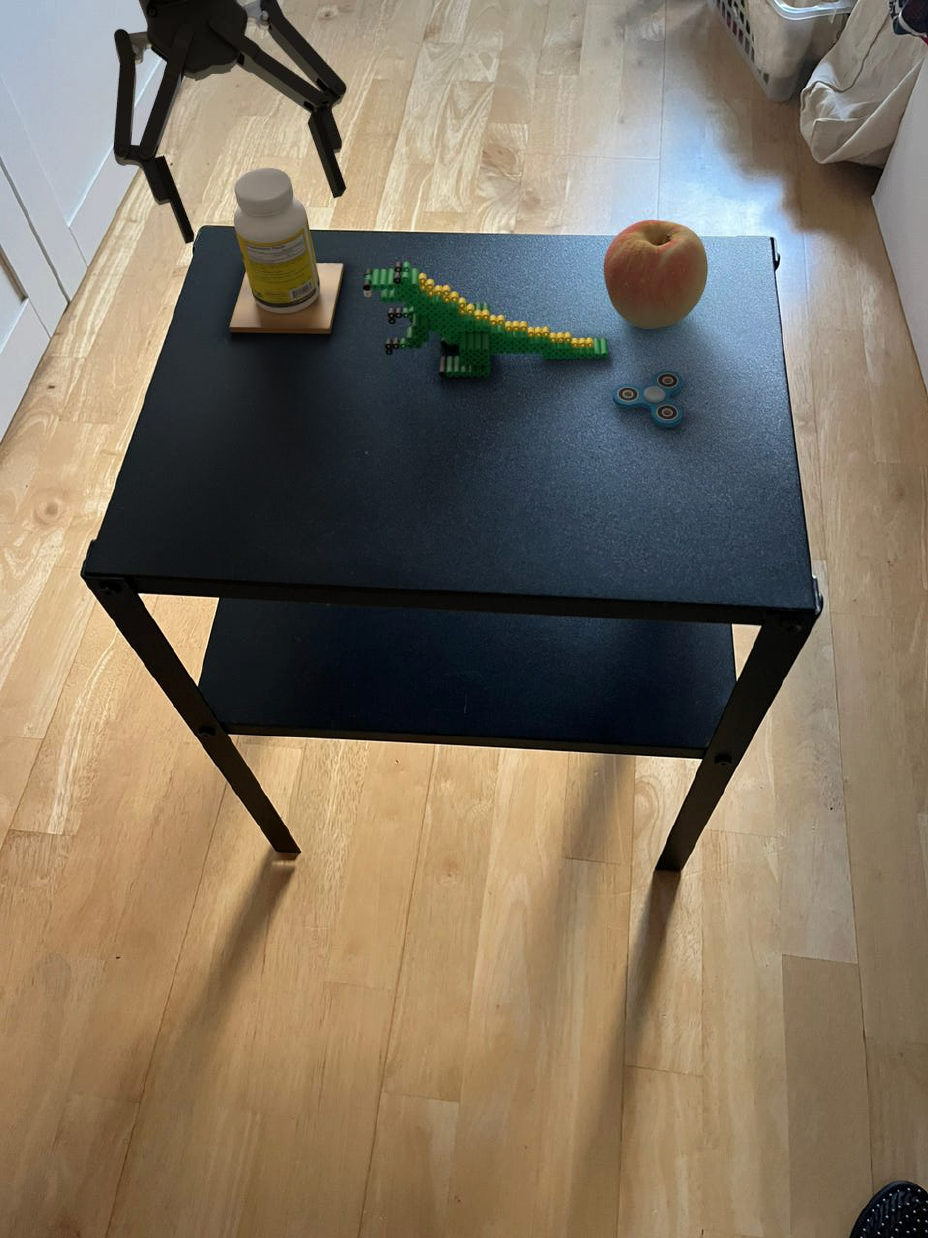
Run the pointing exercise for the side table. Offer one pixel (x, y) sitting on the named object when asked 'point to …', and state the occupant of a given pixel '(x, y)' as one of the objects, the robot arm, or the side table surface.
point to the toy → (653, 398)
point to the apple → (655, 273)
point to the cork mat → (303, 321)
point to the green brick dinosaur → (466, 325)
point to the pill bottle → (275, 242)
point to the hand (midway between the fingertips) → (266, 216)
